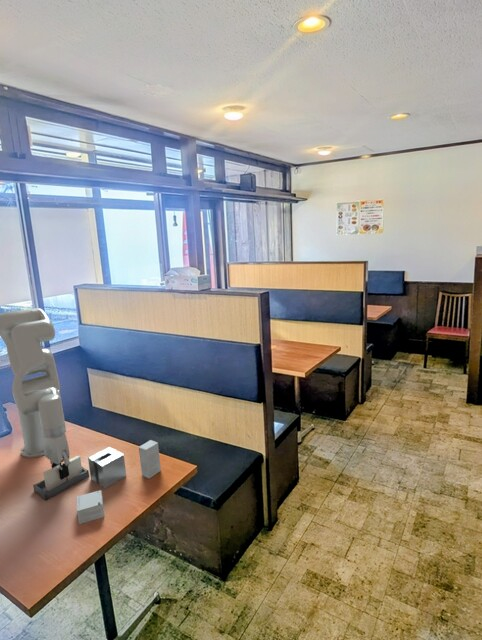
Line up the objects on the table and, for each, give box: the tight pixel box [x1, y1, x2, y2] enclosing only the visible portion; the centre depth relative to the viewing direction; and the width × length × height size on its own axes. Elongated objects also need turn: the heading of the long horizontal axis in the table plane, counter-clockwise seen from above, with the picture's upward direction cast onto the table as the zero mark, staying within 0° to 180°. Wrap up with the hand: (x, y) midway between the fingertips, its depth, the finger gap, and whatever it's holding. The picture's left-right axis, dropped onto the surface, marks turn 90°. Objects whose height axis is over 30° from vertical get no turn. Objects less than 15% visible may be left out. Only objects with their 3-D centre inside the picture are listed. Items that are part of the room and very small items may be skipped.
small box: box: [76, 489, 105, 525], centre depth 127 cm, size 8×8×5 cm
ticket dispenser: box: [87, 446, 127, 489], centre depth 144 cm, size 9×9×9 cm
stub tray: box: [33, 466, 90, 501], centre depth 143 cm, size 8×16×2 cm, turn 142°
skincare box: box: [138, 439, 162, 480], centre depth 146 cm, size 6×4×12 cm
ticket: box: [42, 455, 83, 491], centre depth 142 cm, size 2×13×7 cm, turn 142°
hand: (61, 474), depth 142 cm, fingers open, 4 cm apart
